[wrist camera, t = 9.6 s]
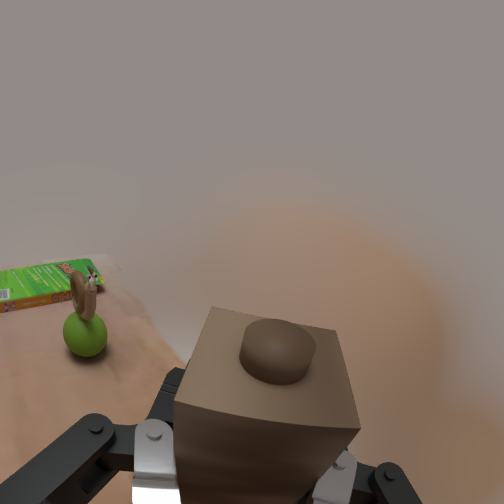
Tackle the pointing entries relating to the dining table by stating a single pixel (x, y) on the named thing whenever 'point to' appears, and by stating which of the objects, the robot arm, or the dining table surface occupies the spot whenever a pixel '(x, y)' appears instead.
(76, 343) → the snail figurine
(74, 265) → the game box
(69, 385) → the dining table surface
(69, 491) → the robot arm
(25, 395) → the dining table surface
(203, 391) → the walnut brick
